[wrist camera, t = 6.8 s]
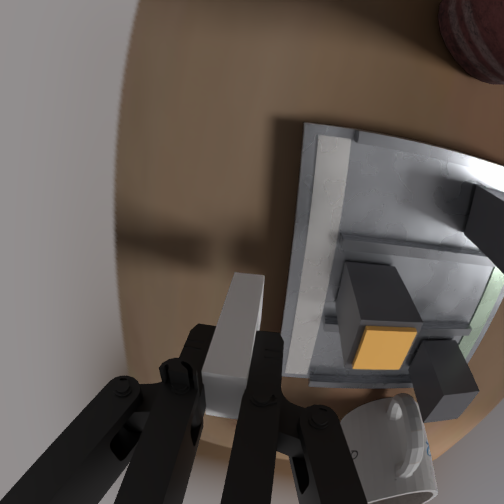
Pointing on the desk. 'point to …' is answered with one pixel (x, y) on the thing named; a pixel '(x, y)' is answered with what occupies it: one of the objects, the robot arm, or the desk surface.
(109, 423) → the robot arm
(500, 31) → the can
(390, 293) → the block
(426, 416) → the breaker
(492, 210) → the block
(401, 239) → the panel
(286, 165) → the desk surface
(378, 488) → the mug
